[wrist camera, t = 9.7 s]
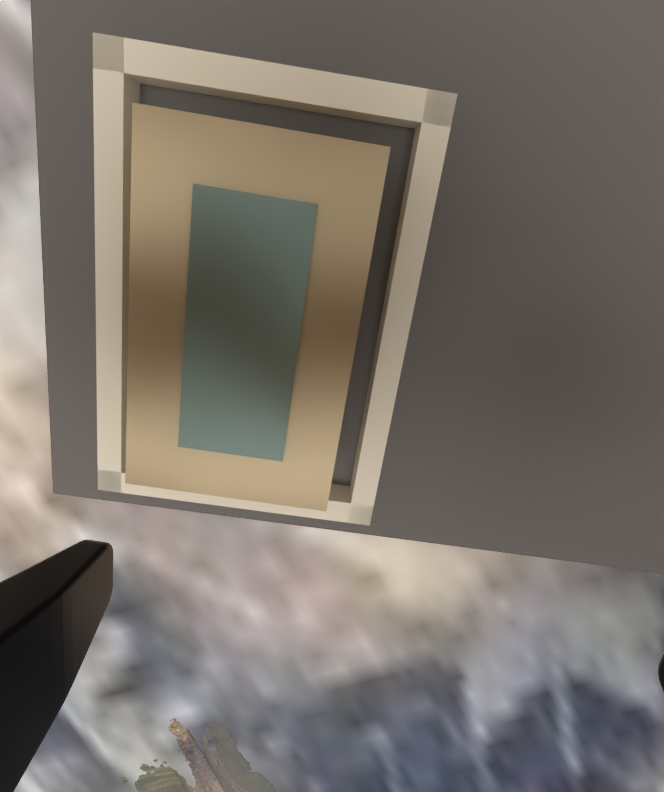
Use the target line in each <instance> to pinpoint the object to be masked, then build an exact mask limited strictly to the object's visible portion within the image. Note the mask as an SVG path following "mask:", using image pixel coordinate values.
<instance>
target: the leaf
mask: <svg viewBox="0 0 664 792" xmlns="http://www.w3.org/2000/svg"><path fill="white" fill-rule="evenodd" d="M173 720H174V722H173V723H172V724H170V726H169V731H171V732H172V733H173V734H174V735H176V736H177V741H178V744H179V746H180V748H181V750H182V751H183V754H184V755H185V757H186V761H188V760H189V761H190V764H188V765H189V766H190V768H191V769H192V774H193V776H194V777H195V779H196V786H197V788H195V787H192V786H188V785H187V783H186V780H185V778H183V777H182V776H180V775H179V774H178V773H177V771H175V770H173V769H172V768H171V767H169V766H168V767H164V766H163V763H166V761H164V762H163V763H162V765H161V766H160V767H159V768H156V767H154V766H151V767H149V766H148V765H145V764H142V766H141V767H140V769H142V770H144V771H147V774H146V775H140V776H139V779H138V781H136V782H135V786H136V788H137V790H138V791H139V792H193V791H195V792H276V791H275V789H274V788H273V786H272V784H271V783H269V781H268V780H267V779H266V778H265V777H264V776H263V775H262V774H260V773H256V772H251V773H246V772H248V771H250V770H251V767H250V764H249V762H248V761H247V760H245V758H244V757H243V756H242V754H241V753H240V752H239V751H238V749H237V747H236V745H237V740H236V739H234V738H233V737H232V736H230V735H229V734H227V732H226V730H225V728H224V726H223V725H222V724H220V723H218V722H213V723H211V724H209V726H208V727H207V728H206V730H205V731H206V732H205V735H204V736H203V737H202V740H203V741H204V744H203V745H202V744H200V743H199V742H197V741H196V740H195V739H194V738H193V736H192V735H191V733H190V732H189V730H188V729H186V728H183V727H182V725H181V724H180V723H179V722H178V721H175V720H176V719H175V718H174V719H173ZM170 721H172V720H170ZM212 737H214V738H216V739H217V740H218V741H220V742H219V743H218V744H217V749H216V750H215V751H207V749H206V747H207V742H208V741H209V740H211V739H212ZM156 761H158V760H157V759H156V760H154V762H156ZM219 761H221V762H219ZM166 764H167V763H166ZM151 771H154V773H149V772H151ZM120 780H121V781H122V782H123V783H125V784H126V783H127V781H128V780H127V779H126V778H124V777H122V778H120Z"/></svg>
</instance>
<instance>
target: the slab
mask: <svg viewBox="0 0 664 792" xmlns="http://www.w3.org/2000/svg"><path fill="white" fill-rule="evenodd" d="M390 148H391V147H388V146H382V145H376V144H371V143H365V142H359V141H353V140H347V139H342V138H336V137H330V136H324V135H318V134H312V133H307V132H301V131H295V130H289V129H283V128H278V127H272V126H266V125H260V124H254V123H249V122H243V121H237V120H231V119H225V118H220V117H214V116H208V115H202V114H196V113H191V112H185V111H179V110H173V109H167V108H162V107H156V106H150V105H144V104H138V103H132V147H131V201H130V255H129V309H128V363H127V416H126V470H125V483H126V484H133V485H141V486H148V487H155V488H162V489H169V490H176V491H184V492H191V493H198V494H205V495H212V496H219V497H227V498H234V499H241V500H248V501H255V502H262V503H270V504H277V505H284V506H291V507H298V508H305V509H313V510H320V511H327V505H328V499H329V494H330V488H331V482H332V477H333V471H334V465H335V460H336V454H337V448H338V443H339V437H340V431H341V426H342V420H343V414H344V409H345V403H346V397H347V392H348V386H349V381H350V375H351V369H352V364H353V358H354V352H355V347H356V341H357V335H358V330H359V324H360V318H361V313H362V307H363V301H364V296H365V290H366V284H367V279H368V273H369V267H370V262H371V256H372V250H373V245H374V239H375V233H376V228H377V222H378V216H379V211H380V205H381V199H382V194H383V188H384V182H385V177H386V171H387V165H388V160H389V154H390Z"/></svg>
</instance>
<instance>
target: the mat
mask: <svg viewBox="0 0 664 792" xmlns="http://www.w3.org/2000/svg"><path fill="white" fill-rule="evenodd" d="M31 20H32V42H33V64H34V86H35V107H36V129H37V151H38V173H39V194H40V216H41V238H42V260H43V282H44V303H45V325H46V347H47V369H48V390H49V412H50V434H51V456H52V478H53V493H56V494H63V495H71V496H79V497H86V498H94V499H102V500H109V501H117V502H124V503H132V504H140V505H147V506H155V507H162V508H170V509H178V510H185V511H193V512H201V513H208V514H216V515H223V516H231V517H239V518H246V519H254V520H261V521H269V522H277V523H284V524H292V525H300V526H307V527H315V528H322V529H330V530H338V531H345V532H353V533H361V534H368V535H376V536H383V537H391V538H399V539H406V540H414V541H421V542H429V543H437V544H444V545H452V546H460V547H467V548H475V549H482V550H490V551H498V552H505V553H513V554H520V555H528V556H536V557H543V558H551V559H559V560H566V561H574V562H581V563H589V564H597V565H604V566H612V567H619V568H627V569H635V570H642V571H650V572H658V573H664V0H31ZM132 103H138V104H144V105H150V106H156V107H162V108H167V109H173V110H179V111H185V112H191V113H196V114H202V115H208V116H214V117H220V118H225V119H231V120H237V121H243V122H249V123H254V124H260V125H266V126H272V127H278V128H283V129H289V130H295V131H301V132H307V133H312V134H318V135H324V136H330V137H336V138H342V139H347V140H353V141H359V142H365V143H371V144H376V145H382V146H388V147H391V148H390V154H389V160H388V165H387V171H386V177H385V182H384V188H383V194H382V199H381V205H380V211H379V216H378V222H377V228H376V233H375V239H374V245H373V250H372V256H371V262H370V267H369V273H368V279H367V284H366V290H365V296H364V301H363V307H362V313H361V318H360V324H359V330H358V335H357V341H356V347H355V352H354V358H353V364H352V369H351V375H350V381H349V386H348V392H347V397H346V403H345V409H344V414H343V420H342V426H341V431H340V437H339V443H338V448H337V454H336V460H335V465H334V471H333V477H332V482H331V488H330V494H329V499H328V505H327V511H320V510H313V509H305V508H298V507H291V506H284V505H277V504H270V503H262V502H255V501H248V500H241V499H234V498H227V497H219V496H212V495H205V494H198V493H191V492H184V491H176V490H169V489H162V488H155V487H148V486H141V485H133V484H126V483H125V470H126V416H127V363H128V309H129V255H130V201H131V147H132Z"/></svg>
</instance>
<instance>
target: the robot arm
mask: <svg viewBox="0 0 664 792" xmlns="http://www.w3.org/2000/svg"><path fill="white" fill-rule="evenodd" d="M112 589H113V549H112V546H111V545H110V544H109V543H106V542H100V541H93V540H83V541H81V542H79V543H77V544H75V545H73V546H71V547H69V548H67V549H65V550H63V551H61V552H59V553H57V554H55V555H53V556H51V557H49V558H47V559H45V560H43V561H41V562H39V563H37V564H35V565H33V566H31V567H29V568H27V569H25V570H23V571H22V572H20V573H18V574H16V575H14V576H12V577H10V578H8V579H6V580H4V581H2V582H0V792H14V790H15V788H16V786H17V784H18V783H19V781H20V779H21V777H22V776H23V774H24V772H25V770H26V769H27V767H28V765H29V763H30V762H31V760H32V758H33V756H34V755H35V753H36V751H37V749H38V748H39V746H40V744H41V742H42V741H43V739H44V737H45V735H46V734H47V732H48V730H49V728H50V727H51V725H52V723H53V721H54V720H55V718H56V716H57V714H58V712H59V710H60V709H61V707H62V705H63V703H64V701H65V699H66V697H67V695H68V693H69V691H70V689H71V687H72V684H73V682H74V680H75V678H76V675H77V673H78V671H79V669H80V666H81V664H82V662H83V660H84V657H85V655H86V653H87V651H88V648H89V646H90V644H91V642H92V639H93V637H94V635H95V633H96V630H97V628H98V626H99V624H100V621H101V619H102V617H103V615H104V612H105V610H106V608H107V606H108V603H109V601H110V598H111V594H112ZM658 675H659V680H660V683H661V686H662V688H663V691H664V655H663V657H662V659H661V661H660V664H659V669H658Z"/></svg>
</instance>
